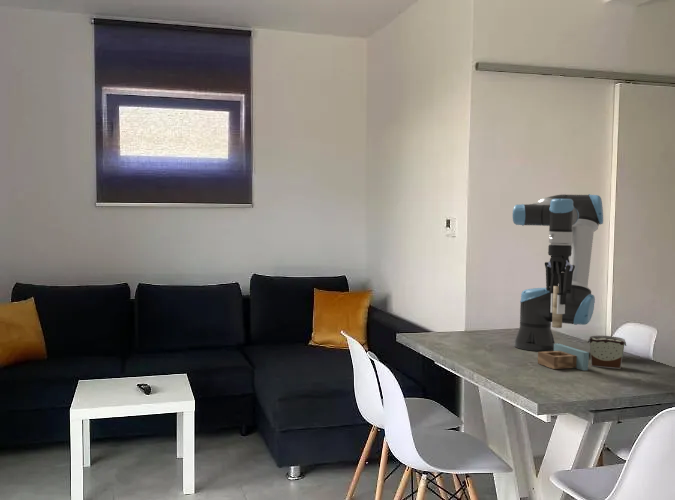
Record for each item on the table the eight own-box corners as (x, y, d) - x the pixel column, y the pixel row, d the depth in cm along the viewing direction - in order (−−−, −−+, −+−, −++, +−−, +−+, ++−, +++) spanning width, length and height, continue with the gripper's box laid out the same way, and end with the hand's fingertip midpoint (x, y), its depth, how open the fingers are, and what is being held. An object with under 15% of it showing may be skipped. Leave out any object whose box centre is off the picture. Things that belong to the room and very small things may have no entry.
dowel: (557, 326, 235) (559, 285, 235) (563, 327, 232) (565, 286, 232) (550, 326, 234) (551, 285, 234) (555, 328, 231) (557, 286, 231)
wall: (558, 360, 244) (558, 343, 244) (588, 370, 229) (588, 352, 229) (553, 360, 243) (553, 343, 243) (583, 370, 228) (583, 352, 228)
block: (559, 361, 240) (559, 350, 240) (576, 367, 232) (576, 355, 231) (537, 363, 237) (538, 351, 237) (553, 369, 229) (554, 357, 228)
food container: (624, 365, 238) (625, 336, 237) (625, 369, 232) (626, 339, 231) (586, 362, 242) (587, 334, 241) (586, 365, 236) (587, 337, 235)
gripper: (536, 243, 238) (534, 310, 239) (565, 245, 223) (562, 317, 224) (554, 243, 240) (552, 309, 242) (584, 245, 225) (581, 316, 227)
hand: (557, 312), depth 233 cm, fingers closed on dowel, 3 cm apart
